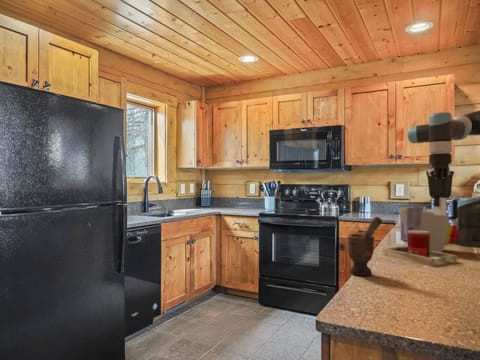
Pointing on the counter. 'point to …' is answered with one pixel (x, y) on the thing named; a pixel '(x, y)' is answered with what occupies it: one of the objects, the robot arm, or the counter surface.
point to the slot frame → (435, 259)
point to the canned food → (419, 242)
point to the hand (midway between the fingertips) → (440, 214)
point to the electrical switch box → (438, 229)
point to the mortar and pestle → (362, 249)
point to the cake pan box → (410, 220)
